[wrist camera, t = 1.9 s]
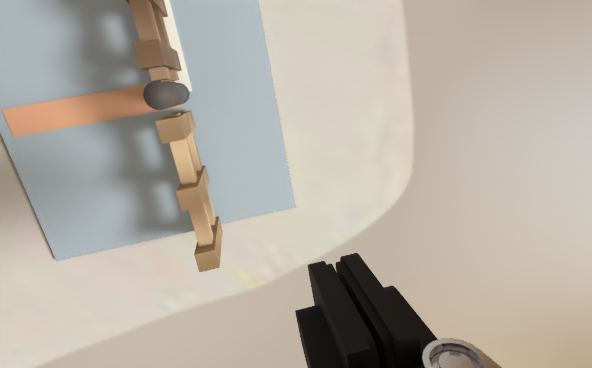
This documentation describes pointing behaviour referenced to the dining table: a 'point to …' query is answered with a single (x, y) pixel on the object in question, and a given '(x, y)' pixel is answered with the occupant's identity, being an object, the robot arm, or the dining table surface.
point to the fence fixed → (157, 55)
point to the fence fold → (193, 186)
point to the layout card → (135, 119)
